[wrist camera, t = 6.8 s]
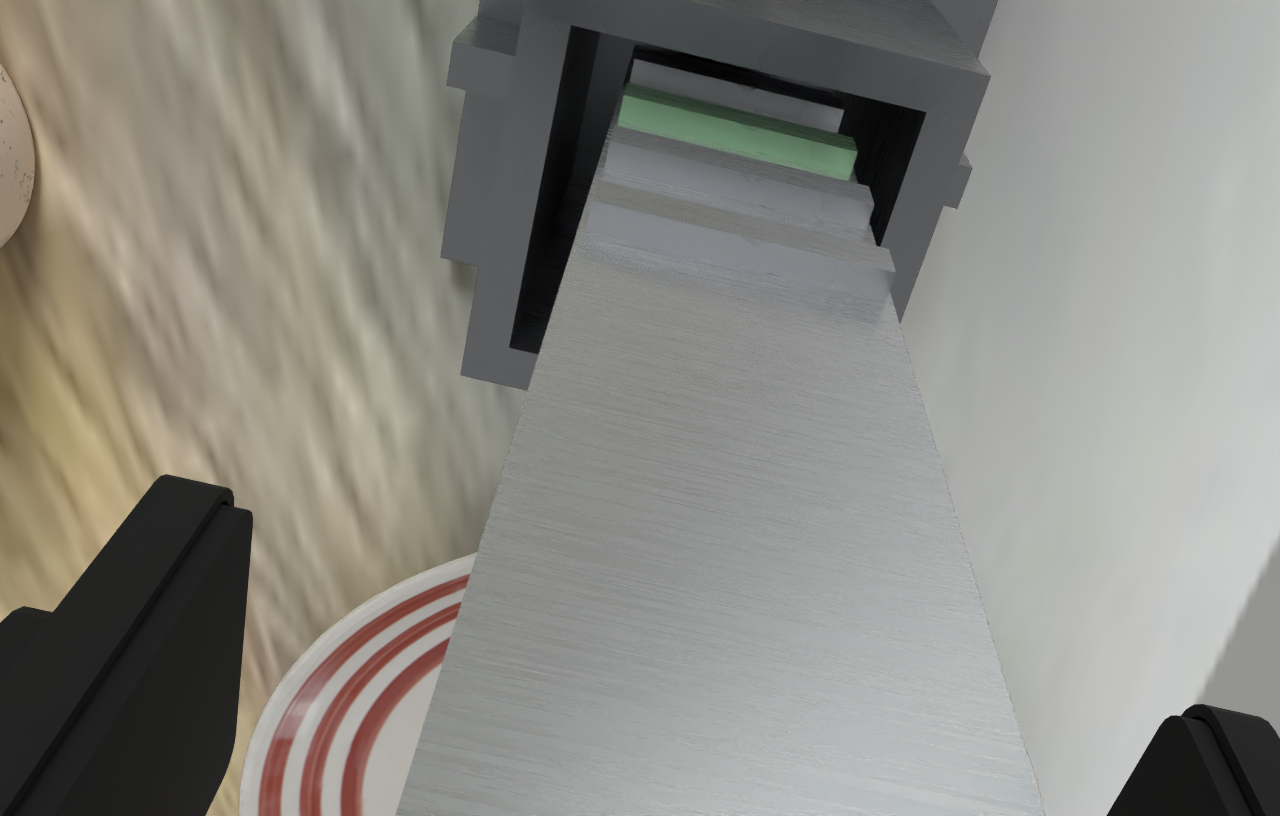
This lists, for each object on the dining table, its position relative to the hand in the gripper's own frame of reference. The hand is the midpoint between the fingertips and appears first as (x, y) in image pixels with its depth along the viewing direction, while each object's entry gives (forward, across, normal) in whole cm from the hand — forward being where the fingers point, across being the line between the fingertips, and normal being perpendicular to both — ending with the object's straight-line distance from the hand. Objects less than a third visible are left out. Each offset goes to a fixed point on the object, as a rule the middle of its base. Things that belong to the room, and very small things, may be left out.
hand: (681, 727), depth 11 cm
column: (+16, 0, 0) cm, 16 cm away
